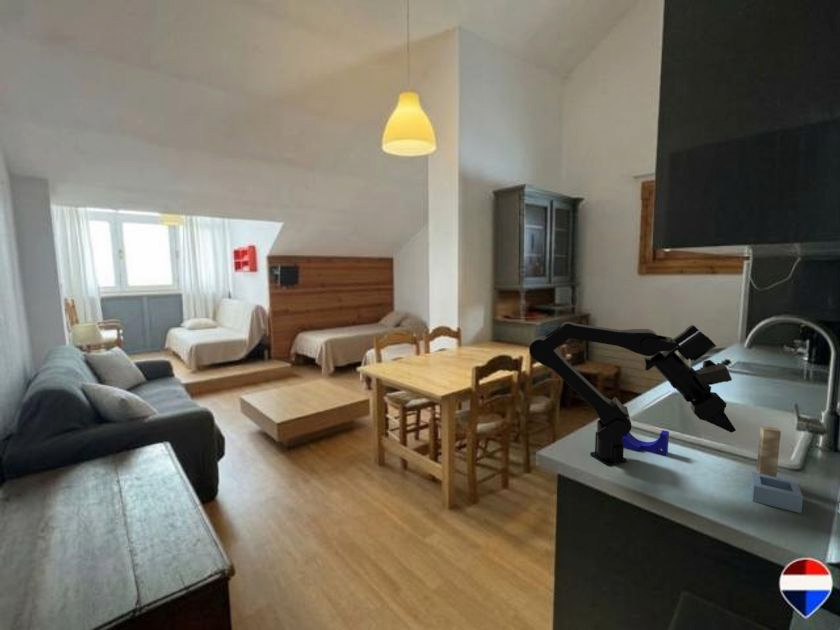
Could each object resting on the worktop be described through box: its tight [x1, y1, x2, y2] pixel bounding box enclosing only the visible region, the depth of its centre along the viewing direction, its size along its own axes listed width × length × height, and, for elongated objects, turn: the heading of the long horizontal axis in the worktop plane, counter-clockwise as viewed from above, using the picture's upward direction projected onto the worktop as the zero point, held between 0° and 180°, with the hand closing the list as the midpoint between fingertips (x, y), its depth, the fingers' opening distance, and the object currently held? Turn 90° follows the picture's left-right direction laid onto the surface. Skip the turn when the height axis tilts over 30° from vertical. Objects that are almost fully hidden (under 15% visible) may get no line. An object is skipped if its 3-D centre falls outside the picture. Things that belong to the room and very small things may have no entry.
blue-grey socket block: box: [749, 471, 804, 514], centre depth 86 cm, size 8×7×4 cm
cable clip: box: [622, 429, 670, 457], centre depth 110 cm, size 12×4×6 cm, turn 49°
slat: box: [755, 425, 782, 477], centre depth 92 cm, size 3×2×13 cm, turn 67°
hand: (727, 423), depth 94 cm, fingers open, 9 cm apart
